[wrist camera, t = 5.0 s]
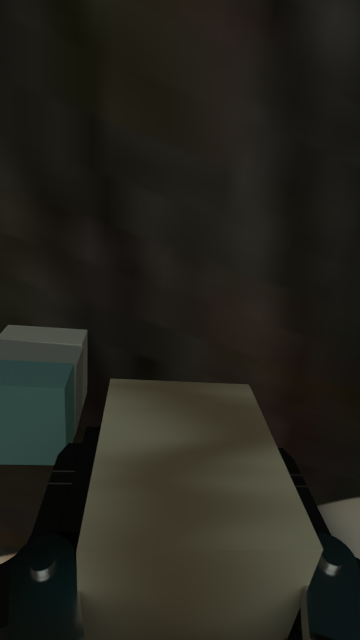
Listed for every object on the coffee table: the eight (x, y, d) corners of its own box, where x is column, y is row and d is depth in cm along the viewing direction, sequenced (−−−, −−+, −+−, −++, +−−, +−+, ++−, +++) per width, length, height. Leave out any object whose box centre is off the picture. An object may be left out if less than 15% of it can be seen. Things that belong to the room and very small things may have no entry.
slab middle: (83, 345, 27) (76, 365, 24) (81, 411, 29) (75, 436, 27) (-3, 339, 26) (-21, 359, 23) (2, 407, 29) (-13, 432, 26)
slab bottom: (88, 328, 30) (81, 344, 27) (87, 390, 32) (82, 410, 29) (10, 322, 29) (-5, 339, 26) (15, 386, 31) (3, 407, 29)
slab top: (73, 363, 24) (64, 388, 21) (74, 434, 27) (66, 465, 24) (-24, 358, 23) (-46, 383, 21) (-13, 432, 26) (-32, 463, 23)
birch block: (248, 384, 12) (323, 549, 7) (227, 483, 13) (273, 673, 8) (110, 378, 11) (76, 551, 6) (108, 482, 13) (80, 682, 8)
